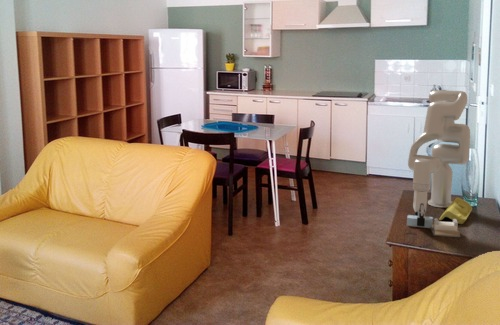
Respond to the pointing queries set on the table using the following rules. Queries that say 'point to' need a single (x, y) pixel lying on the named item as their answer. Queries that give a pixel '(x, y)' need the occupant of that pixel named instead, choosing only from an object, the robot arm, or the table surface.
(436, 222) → the white i-beam block
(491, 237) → the table surface
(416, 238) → the table surface
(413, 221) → the light blue rectangular block
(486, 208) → the table surface
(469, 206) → the plastic component
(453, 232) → the assembly jig
